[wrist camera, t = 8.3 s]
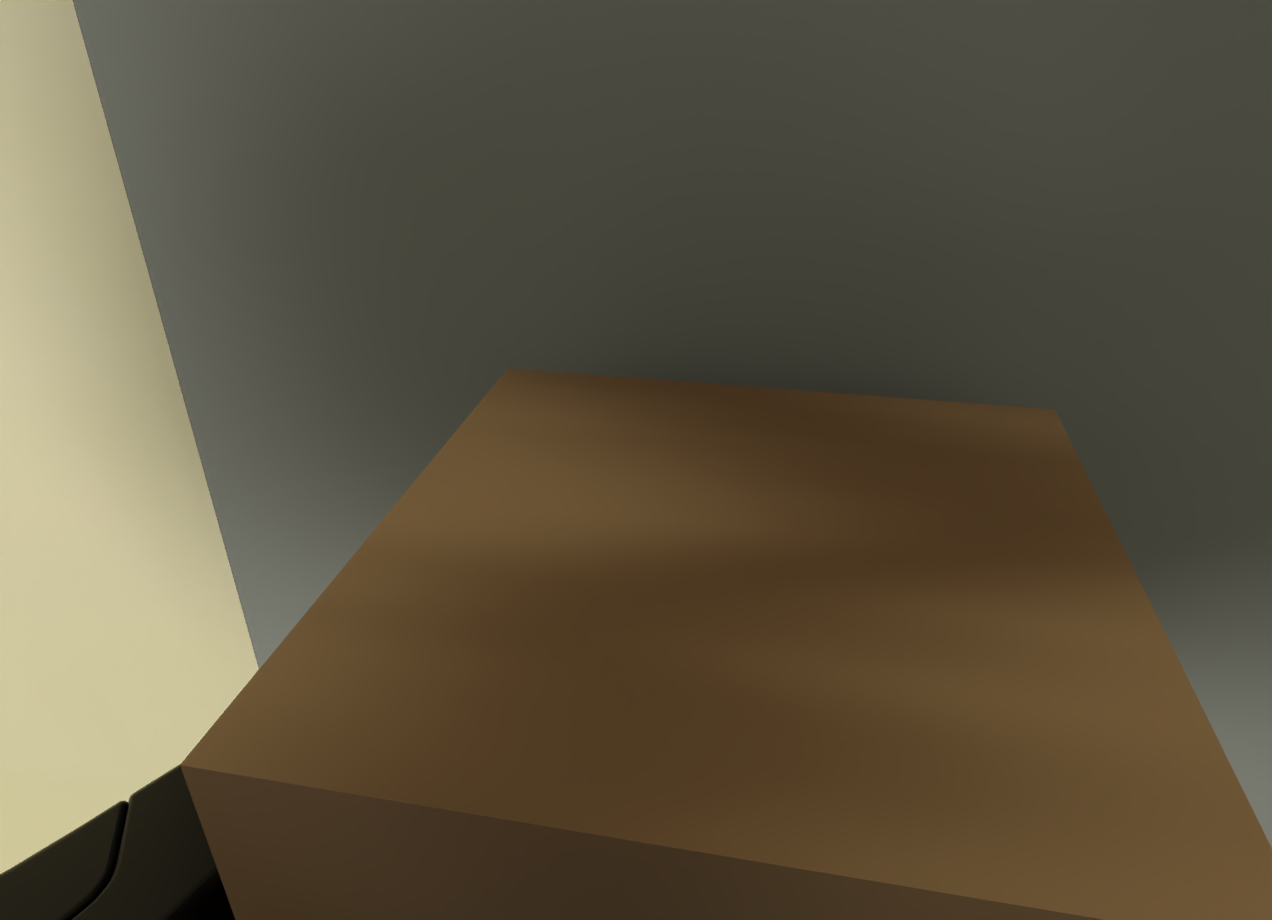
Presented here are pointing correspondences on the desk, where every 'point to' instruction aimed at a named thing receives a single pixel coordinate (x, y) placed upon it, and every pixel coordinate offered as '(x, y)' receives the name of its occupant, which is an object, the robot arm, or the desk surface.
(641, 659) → the walnut block
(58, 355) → the desk surface
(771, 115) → the mat
